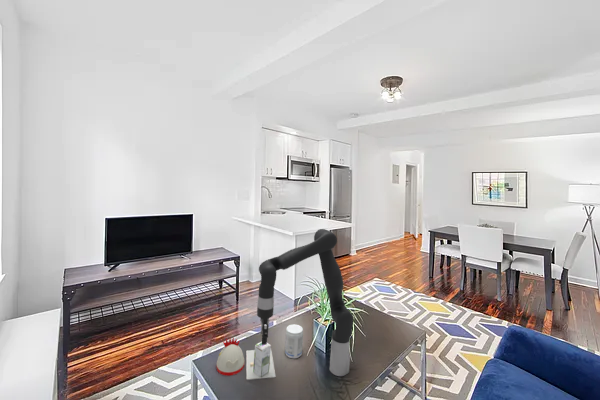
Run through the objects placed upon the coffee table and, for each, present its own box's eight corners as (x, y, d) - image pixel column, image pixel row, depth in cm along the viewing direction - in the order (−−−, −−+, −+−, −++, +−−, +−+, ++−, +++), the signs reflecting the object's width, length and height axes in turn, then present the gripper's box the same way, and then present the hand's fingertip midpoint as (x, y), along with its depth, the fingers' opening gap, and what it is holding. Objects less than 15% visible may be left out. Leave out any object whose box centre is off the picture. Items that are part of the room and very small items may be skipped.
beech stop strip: (269, 363, 141) (269, 361, 141) (269, 365, 140) (270, 362, 140) (250, 364, 139) (250, 362, 139) (250, 366, 138) (250, 364, 138)
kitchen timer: (215, 359, 142) (216, 332, 141) (241, 355, 147) (243, 328, 146) (217, 378, 129) (218, 348, 128) (246, 372, 134) (247, 343, 133)
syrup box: (261, 366, 139) (262, 339, 138) (269, 372, 135) (271, 344, 134) (253, 372, 134) (254, 344, 133) (261, 378, 130) (262, 349, 129)
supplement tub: (298, 347, 157) (300, 323, 156) (304, 357, 148) (306, 331, 147) (282, 349, 154) (284, 325, 153) (287, 360, 145) (289, 334, 144)
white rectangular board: (271, 349, 154) (271, 348, 154) (275, 377, 132) (275, 376, 132) (246, 351, 151) (246, 350, 151) (246, 379, 129) (246, 379, 129)
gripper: (275, 312, 119) (272, 347, 120) (272, 298, 132) (270, 330, 134) (257, 312, 117) (255, 348, 118) (257, 298, 131) (255, 330, 132)
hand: (263, 338), depth 126 cm, fingers open, 8 cm apart
